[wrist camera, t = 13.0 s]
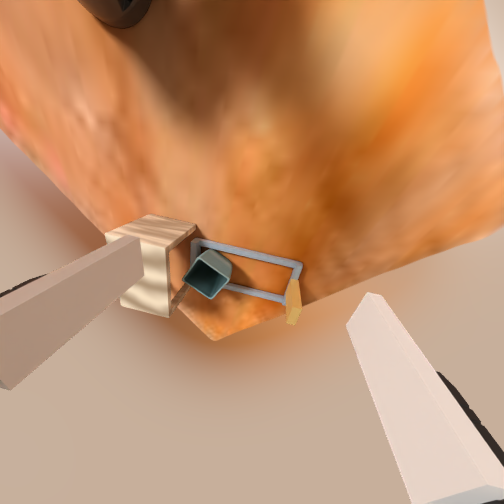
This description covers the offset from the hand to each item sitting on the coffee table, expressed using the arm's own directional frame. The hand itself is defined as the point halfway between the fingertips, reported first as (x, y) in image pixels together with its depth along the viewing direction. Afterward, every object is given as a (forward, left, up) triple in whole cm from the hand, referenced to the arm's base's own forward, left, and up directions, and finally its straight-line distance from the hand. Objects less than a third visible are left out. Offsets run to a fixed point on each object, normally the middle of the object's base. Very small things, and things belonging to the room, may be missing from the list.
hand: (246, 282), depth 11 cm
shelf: (+22, -23, -33) cm, 46 cm away
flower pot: (+21, -11, -33) cm, 40 cm away
